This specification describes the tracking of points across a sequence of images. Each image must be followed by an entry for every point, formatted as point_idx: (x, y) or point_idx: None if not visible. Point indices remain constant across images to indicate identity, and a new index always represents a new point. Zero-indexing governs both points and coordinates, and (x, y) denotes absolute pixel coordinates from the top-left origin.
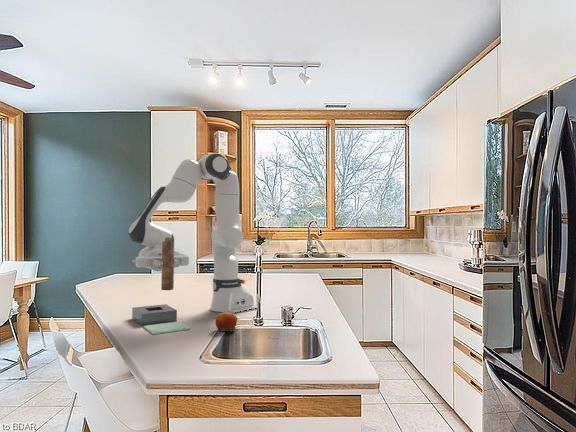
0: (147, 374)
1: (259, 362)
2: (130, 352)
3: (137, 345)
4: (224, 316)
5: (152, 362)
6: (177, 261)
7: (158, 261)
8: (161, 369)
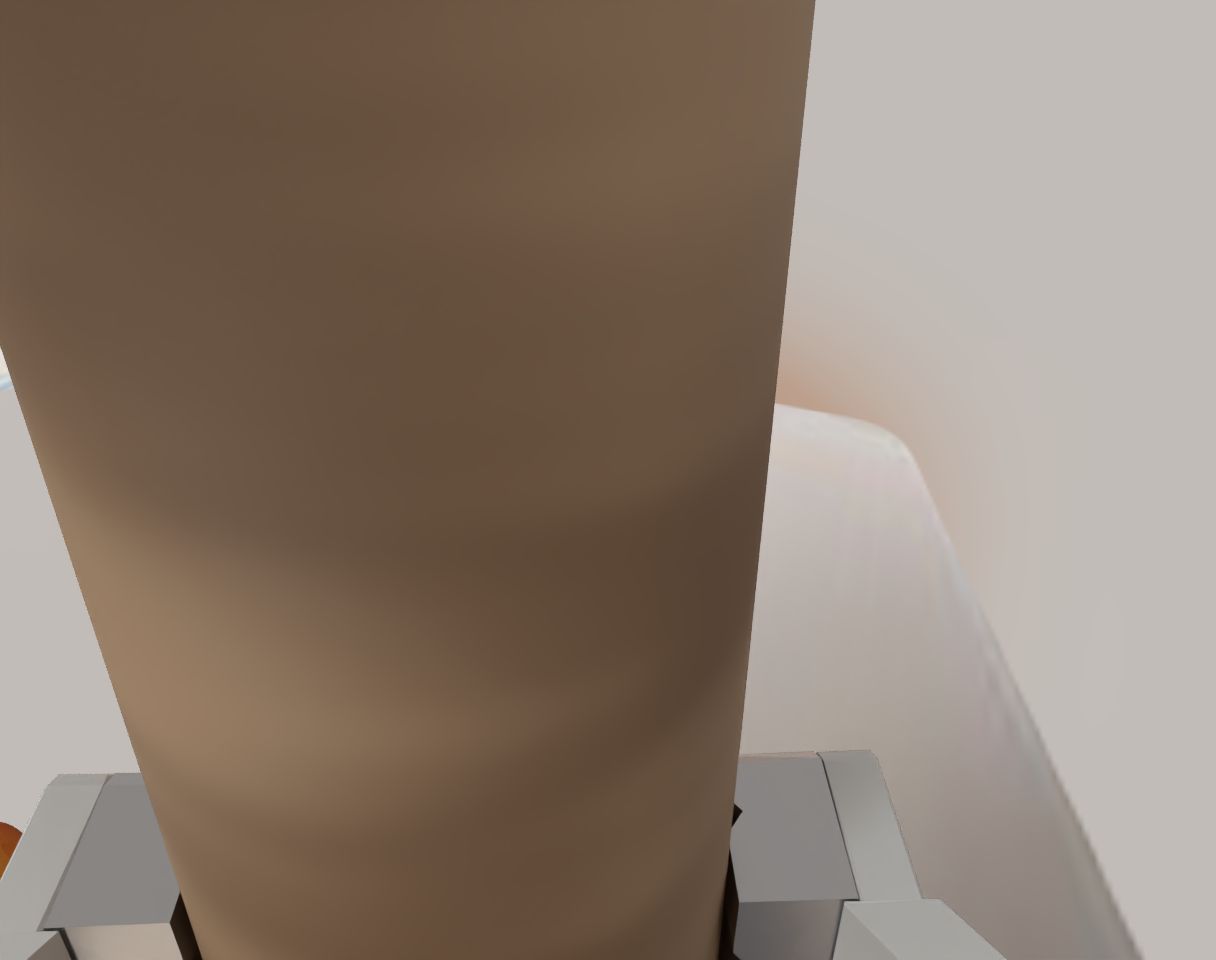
0: (906, 472)
1: None
2: (1034, 780)
3: (991, 929)
4: (5, 829)
5: (874, 575)
6: (97, 781)
7: (887, 806)
8: (834, 492)
